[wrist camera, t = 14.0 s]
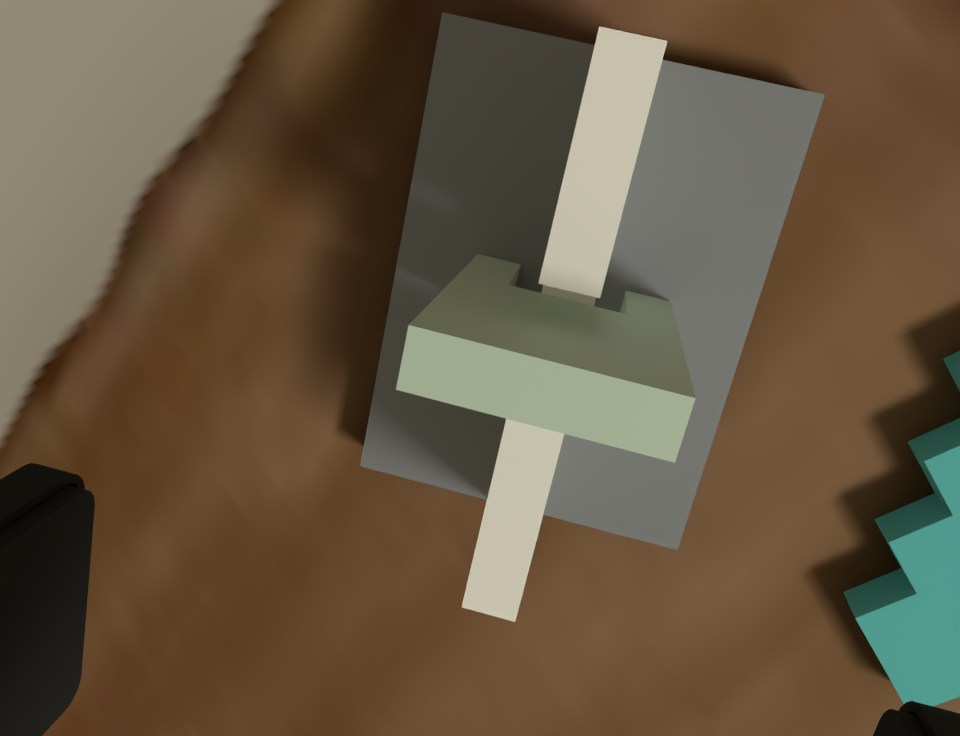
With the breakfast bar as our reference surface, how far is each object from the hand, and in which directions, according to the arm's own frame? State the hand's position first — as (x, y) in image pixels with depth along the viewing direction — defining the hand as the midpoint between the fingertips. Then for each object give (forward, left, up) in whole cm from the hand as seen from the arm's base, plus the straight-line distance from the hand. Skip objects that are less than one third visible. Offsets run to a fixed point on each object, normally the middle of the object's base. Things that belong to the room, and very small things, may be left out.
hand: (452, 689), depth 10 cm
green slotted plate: (0, 0, -20) cm, 20 cm away
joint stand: (0, 0, -22) cm, 22 cm away
